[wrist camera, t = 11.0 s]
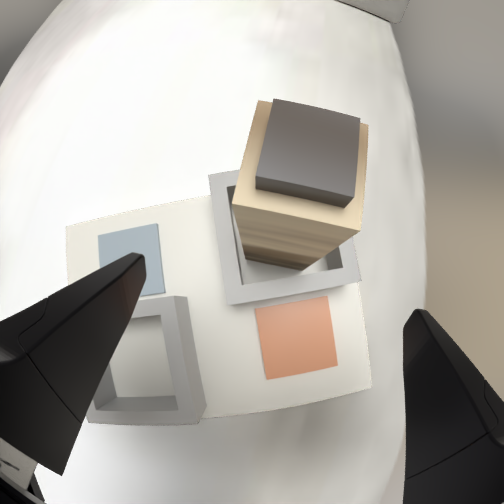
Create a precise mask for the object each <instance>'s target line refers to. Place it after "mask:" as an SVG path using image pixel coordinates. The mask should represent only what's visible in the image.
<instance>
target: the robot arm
mask: <svg viewBox="0 0 504 504" xmlns="http://www.w3.org/2000/svg"><path fill="white" fill-rule="evenodd" d="M146 277H147V273H146V263H145V257H144V255H143V254H140V253H136V252H131V253H129V254H127V255H125V256H123V257H121V258H119V259H117V260H115V261H113V262H111V263H109V264H108V265H106V266H104V267H102V268H100V269H98V270H96V271H94V272H92V273H90V274H88V275H87V276H85V277H83V278H81V279H79V280H77V281H75V282H74V283H72V284H70V285H68V286H66V287H64V288H63V289H61V290H59V291H57V292H55V293H54V294H52V295H50V296H48V298H45V299H43V300H41V301H39V302H38V303H36V304H34V305H32V306H30V307H28V308H27V309H25V310H23V311H21V312H19V313H17V314H15V315H13V316H11V317H8V318H6V319H4V320H2V321H0V504H46V503H44V501H45V500H44V497H43V495H42V493H41V490H40V488H39V485H38V482H37V480H36V477H35V474H34V471H35V469H36V466H37V464H38V463H39V464H41V465H43V466H44V467H46V468H48V469H50V470H52V471H53V472H55V473H57V474H59V475H61V476H62V475H63V472H64V470H65V467H66V464H67V462H68V459H69V456H70V454H71V451H72V448H73V446H74V443H75V441H76V438H77V436H78V433H79V431H80V428H81V426H82V423H83V420H84V418H85V416H86V413H87V411H88V409H89V406H90V404H91V402H92V399H93V397H94V395H95V393H96V390H97V388H98V386H99V384H100V381H101V379H102V377H103V375H104V373H105V371H106V368H107V366H108V364H109V362H110V360H111V358H112V356H113V354H114V352H115V350H116V348H117V346H118V344H119V341H120V339H121V337H122V335H123V333H124V331H125V329H126V327H127V326H128V323H129V321H130V319H131V317H132V314H133V312H134V309H135V307H136V304H137V301H138V299H139V296H140V294H141V291H142V289H143V286H144V284H145V281H146ZM403 376H404V391H405V413H406V462H405V481H404V495H403V504H504V402H503V401H502V399H501V398H500V397H499V396H498V395H497V393H496V392H495V391H494V390H493V388H492V387H491V386H490V384H489V383H488V382H487V381H486V380H484V377H483V376H482V374H481V373H480V372H479V371H478V369H477V368H476V367H475V366H474V364H473V363H472V362H471V361H470V360H469V358H468V357H467V356H466V355H465V353H464V352H463V351H462V350H461V349H460V348H459V346H458V345H457V344H456V343H455V342H454V341H453V339H452V338H451V337H450V336H449V335H448V334H447V332H446V331H445V330H444V329H443V328H442V327H441V326H440V325H439V324H438V322H437V321H436V320H435V319H434V318H433V317H432V316H431V315H430V314H429V312H428V311H426V310H423V309H415V310H414V311H413V313H412V314H411V316H410V317H409V319H408V320H407V322H406V323H405V325H404V328H403Z"/></svg>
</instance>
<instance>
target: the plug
mask: <svg viewBox="0 0 504 504" xmlns="http://www.w3.org/2000/svg"><path fill="white" fill-rule="evenodd" d="M367 148H368V125H367V124H363V123H360V118H357V117H354V116H350V115H346V114H343V113H339V112H335V111H331V110H327V109H322V108H318V107H314V106H309V105H304V104H300V103H295V102H290V101H284V100H279V99H273V103H271V102H265V101H259V100H258V103H257V107H256V111H255V114H254V118H253V122H252V126H251V129H250V133H249V137H248V141H247V145H246V149H245V152H244V156H243V160H242V164H241V168H240V172H239V176H238V180H237V184H236V188H235V192H234V196H233V201H232V206H233V211H234V215H235V219H236V223H237V227H238V231H239V235H240V239H241V244H242V248H243V252H244V256H245V259H246V260H251V261H255V262H260V263H265V264H270V265H275V266H280V267H285V268H290V269H294V270H299V271H303V270H305V269H306V268H308V267H309V266H310V265H312V264H313V263H315V262H316V261H318V260H319V259H321V258H322V257H324V256H325V255H327V254H328V253H329V252H331V251H332V250H334V249H335V248H337V247H338V246H340V245H341V244H342V243H344V242H345V241H347V240H348V239H350V238H351V237H352V236H354V235H355V234H357V233H358V232H360V230H361V222H362V213H363V203H364V192H365V180H366V166H367Z"/></svg>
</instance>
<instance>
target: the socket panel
mask: <svg viewBox="0 0 504 504" xmlns="http://www.w3.org/2000/svg"><path fill="white" fill-rule="evenodd" d="M239 172H240V170H234V171H228V172H222V173H217V174H211V175H208V176H209V184H210V191H211V195H208V196H203V197H197V198H192V199H187V200H181V201H176V202H171V203H166V204H161V205H156V206H152V207H147V208H142V209H138V210H133V211H128V212H124V213H120V214H115V215H111V216H107V217H103V218H98V219H94V220H90V221H86V222H82V223H78V224H74V225H70V226H67V227H66V256H67V275H68V285H70V284H72V283H74V282H75V281H77V280H79V279H81V278H83V277H85V276H87V275H88V274H90V273H92V272H94V271H96V270H98V269H100V268H102V267H104V266H106V265H108V264H109V263H111V262H113V261H115V260H117V259H119V258H121V257H123V256H125V255H127V254H129V253H131V252H136V253H140V254H143V255H144V257H145V263H146V273H147V277H146V281H145V284H144V286H143V289H142V291H141V294H140V296H139V299H138V301H137V304H136V307H135V309H134V312H133V314H132V317H131V319H130V321H129V323H128V326H127V327H126V329H125V331H124V333H123V335H122V337H121V339H120V341H119V344H118V346H117V348H116V350H115V352H114V354H113V356H112V358H111V360H110V362H109V364H108V366H107V368H106V371H105V373H104V375H103V377H102V379H101V381H100V384H99V386H98V388H97V390H96V393H95V395H94V397H93V399H92V402H91V404H90V406H89V409H88V411H87V413H86V417H87V420H88V423H99V424H115V425H187V424H198V423H199V421H200V419H202V418H215V417H225V416H234V415H243V414H250V413H258V412H264V411H271V410H277V409H283V408H288V407H293V406H299V405H304V404H308V403H313V402H318V401H322V400H326V399H331V398H335V397H339V396H343V395H347V394H350V393H354V392H358V391H361V390H365V389H368V388H371V387H372V381H371V371H370V362H369V353H368V345H367V337H366V330H365V323H364V316H363V310H362V304H361V298H360V292H359V286H358V282H360V281H361V275H360V270H359V265H358V260H357V255H356V250H355V245H354V240H353V236H352V237H351V238H350V239H348V240H347V241H345V242H344V243H342V244H341V245H340V246H338V247H337V248H335V249H334V250H332V251H331V252H329V253H328V254H327V255H325V256H324V257H322V258H321V259H319V260H318V261H316V262H315V263H313V264H312V265H310V266H309V267H308V268H306V269H305V270H303V271H299V270H294V269H290V268H285V267H280V266H275V265H270V264H265V263H260V262H255V261H251V260H246V259H245V256H244V252H243V248H242V244H241V239H240V235H239V231H238V227H237V223H236V219H235V215H234V211H233V206H232V201H233V196H234V192H235V188H236V184H237V180H238V176H239Z"/></svg>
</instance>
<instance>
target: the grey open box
mask: <svg viewBox="0 0 504 504" xmlns="http://www.w3.org/2000/svg"><path fill="white" fill-rule="evenodd" d="M338 1H341V2H344V3H347V4H350V5H352V6H355V7H357V8H360V9H363V10H365V11H367V12H370V13H372V14H375V15H377V16H379V17H381V18H384V19H386V20H388V21H390V22H392V23H395V24H396V23H399V22H400V21H401V19H402V17H403V15H404V12H405V10H406V8H407V5H408V3H409V0H338Z"/></svg>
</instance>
